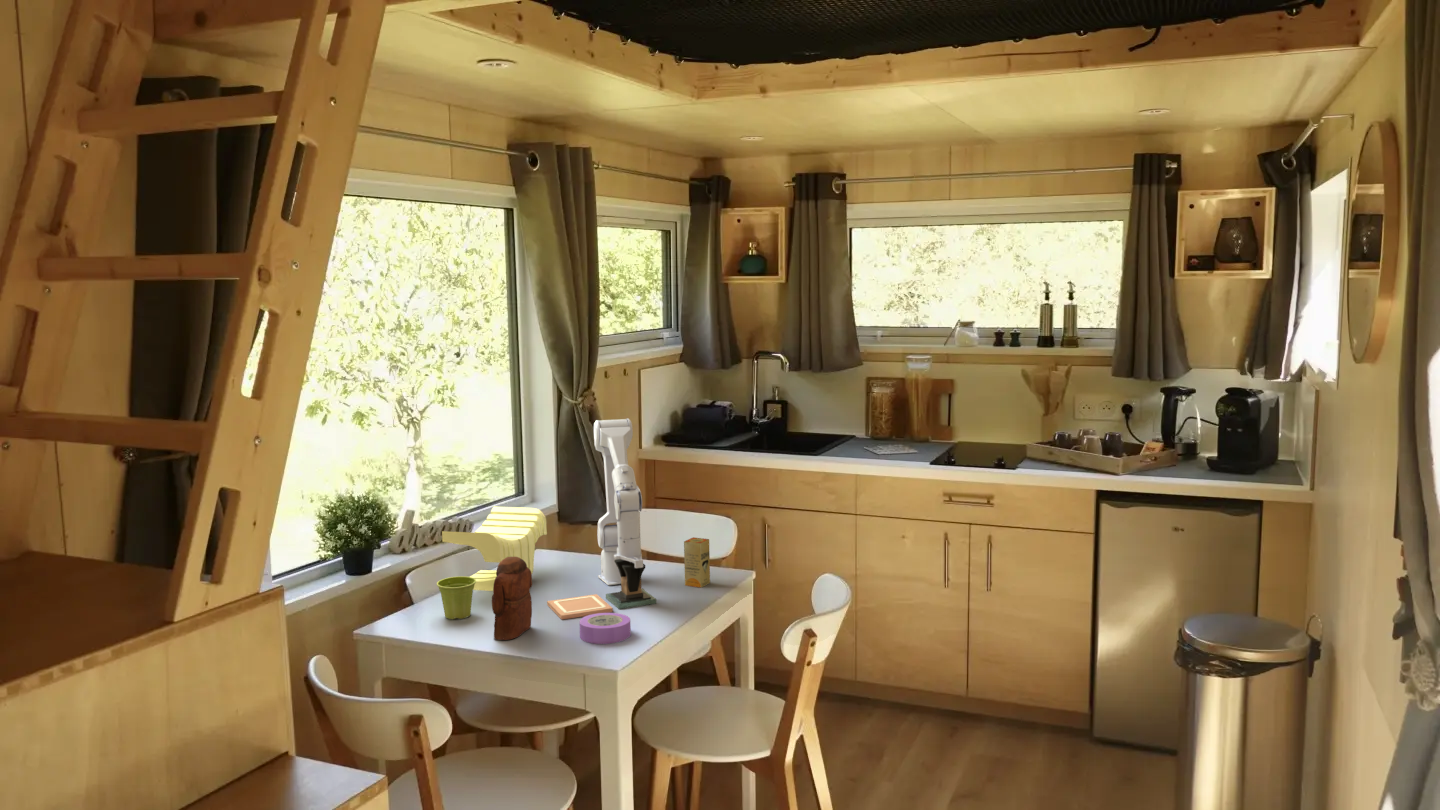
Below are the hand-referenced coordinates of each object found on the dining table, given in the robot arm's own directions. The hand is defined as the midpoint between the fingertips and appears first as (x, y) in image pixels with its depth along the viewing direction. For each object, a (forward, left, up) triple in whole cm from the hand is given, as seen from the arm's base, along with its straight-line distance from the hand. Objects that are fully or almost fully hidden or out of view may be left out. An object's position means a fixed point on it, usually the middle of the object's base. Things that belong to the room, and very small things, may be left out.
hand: (630, 589), depth 272 cm
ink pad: (0, 0, -3) cm, 3 cm away
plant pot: (-8, -42, -3) cm, 43 cm away
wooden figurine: (+11, -33, -3) cm, 35 cm away
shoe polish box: (-6, +21, -3) cm, 22 cm away
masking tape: (+22, -14, -4) cm, 26 cm away
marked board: (0, -13, -3) cm, 14 cm away
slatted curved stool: (-31, -27, -3) cm, 41 cm away
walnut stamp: (0, 0, -2) cm, 2 cm away
